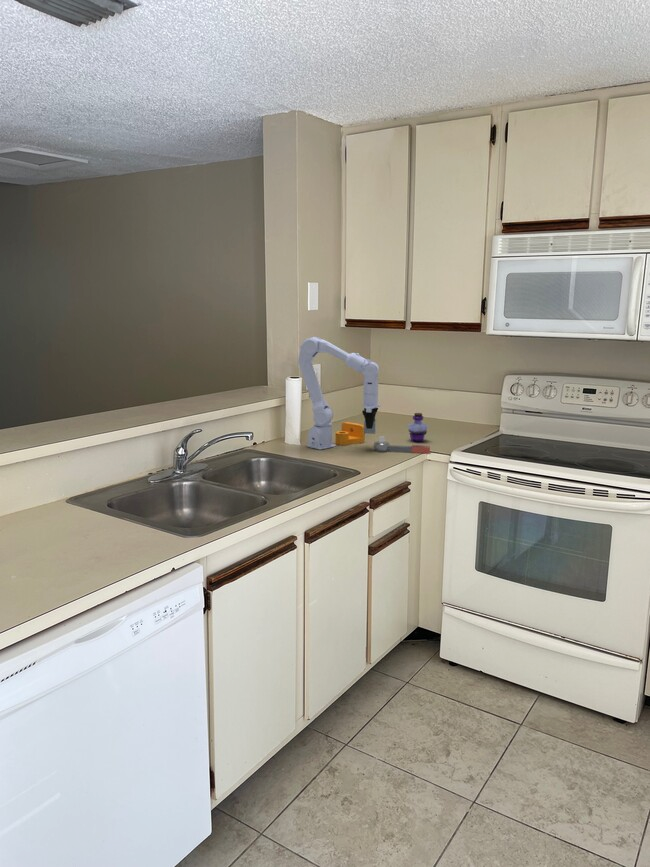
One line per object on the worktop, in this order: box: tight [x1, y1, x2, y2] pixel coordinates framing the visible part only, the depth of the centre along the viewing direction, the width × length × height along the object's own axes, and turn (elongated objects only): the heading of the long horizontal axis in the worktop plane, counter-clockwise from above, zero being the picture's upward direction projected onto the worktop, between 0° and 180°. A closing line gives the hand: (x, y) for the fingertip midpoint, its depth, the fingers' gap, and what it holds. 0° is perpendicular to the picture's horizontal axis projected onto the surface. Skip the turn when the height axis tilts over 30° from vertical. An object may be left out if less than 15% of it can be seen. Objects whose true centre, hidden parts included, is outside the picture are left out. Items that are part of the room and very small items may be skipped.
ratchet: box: [373, 435, 431, 455], centre depth 263 cm, size 22×6×6 cm, turn 81°
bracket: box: [334, 421, 366, 446], centre depth 277 cm, size 11×7×12 cm
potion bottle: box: [407, 412, 429, 444], centre depth 280 cm, size 9×9×12 cm
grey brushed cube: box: [363, 418, 377, 435], centre depth 264 cm, size 4×4×5 cm
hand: (369, 427), depth 264 cm, fingers closed on grey brushed cube, 4 cm apart
